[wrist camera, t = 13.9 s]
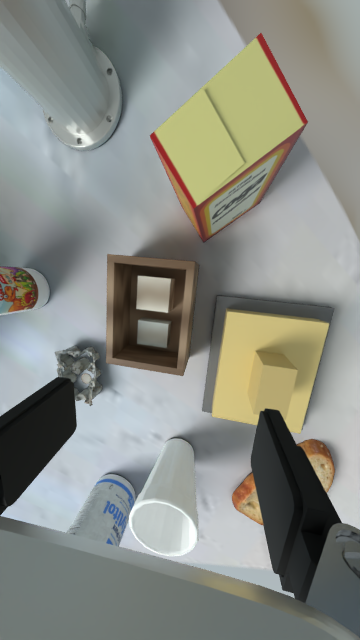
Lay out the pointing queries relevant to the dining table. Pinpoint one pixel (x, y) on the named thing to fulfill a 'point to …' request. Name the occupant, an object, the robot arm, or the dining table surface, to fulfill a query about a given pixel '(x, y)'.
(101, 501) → the supplement tub
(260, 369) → the lid
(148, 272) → the box
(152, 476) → the cup
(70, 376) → the egg carton
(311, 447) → the slice of bread
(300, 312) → the mat
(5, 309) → the milk bottle
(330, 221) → the dining table surface
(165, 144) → the baking soda box
